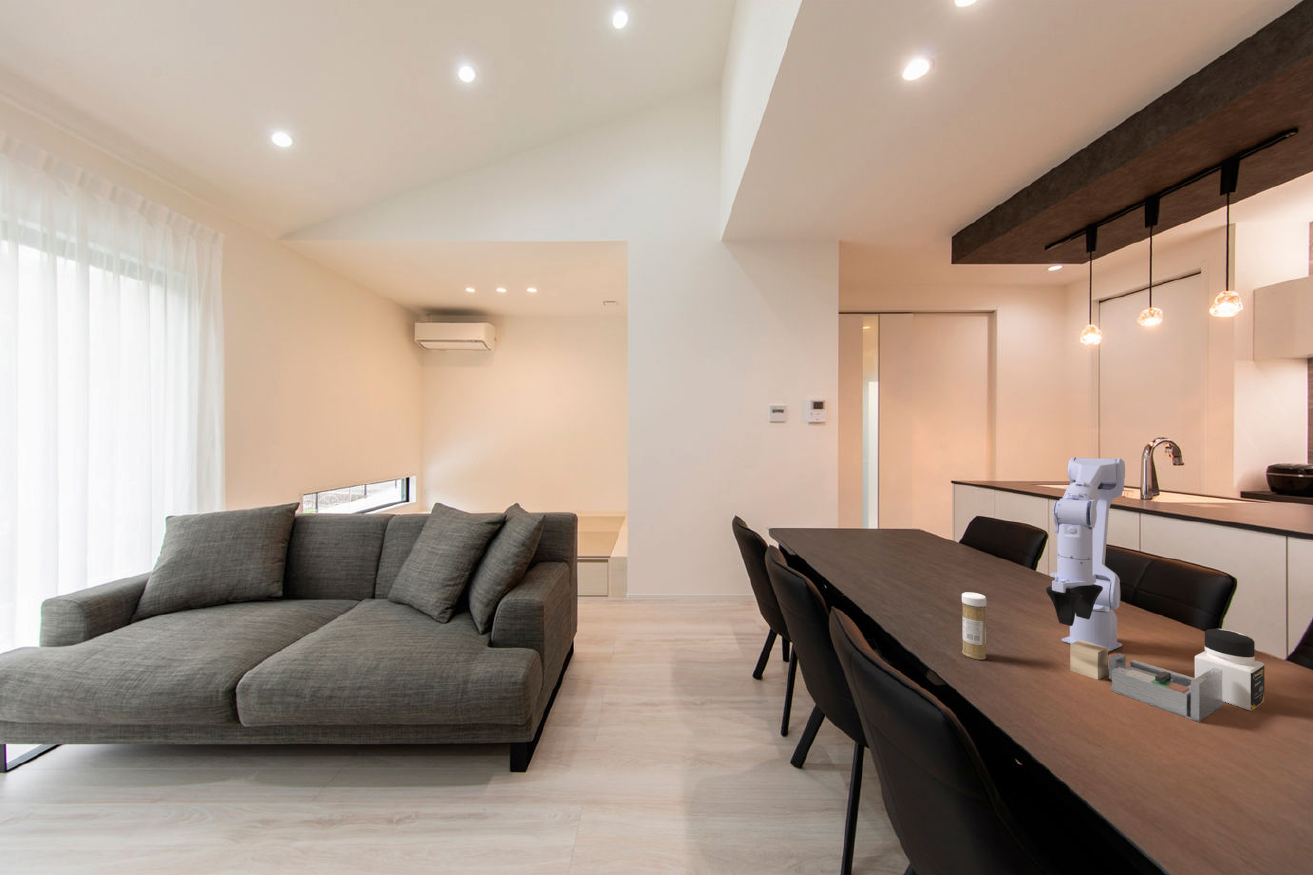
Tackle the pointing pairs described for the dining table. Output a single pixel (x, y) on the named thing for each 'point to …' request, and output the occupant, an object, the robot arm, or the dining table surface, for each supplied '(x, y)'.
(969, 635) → the sprinkles bottle
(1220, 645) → the medicine bottle
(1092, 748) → the dining table surface
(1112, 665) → the grey l-shaped piece
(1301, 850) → the dining table surface
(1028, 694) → the dining table surface
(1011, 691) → the dining table surface
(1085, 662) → the block
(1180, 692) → the gauge housing
